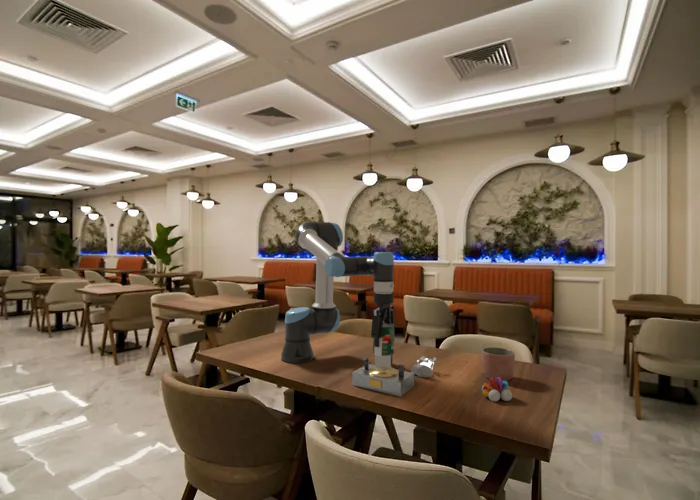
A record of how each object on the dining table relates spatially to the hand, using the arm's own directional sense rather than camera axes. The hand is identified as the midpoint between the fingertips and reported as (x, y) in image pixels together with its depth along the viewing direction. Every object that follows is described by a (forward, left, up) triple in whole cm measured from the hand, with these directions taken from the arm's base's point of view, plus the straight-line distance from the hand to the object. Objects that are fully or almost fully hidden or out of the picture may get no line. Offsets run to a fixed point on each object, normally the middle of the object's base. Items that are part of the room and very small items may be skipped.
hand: (383, 352), depth 141 cm
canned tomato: (0, 0, 0) cm, 0 cm away
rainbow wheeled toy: (+38, +12, -13) cm, 42 cm away
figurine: (+8, +22, -13) cm, 27 cm away
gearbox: (0, 0, -13) cm, 13 cm away
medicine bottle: (-11, +22, -13) cm, 28 cm away
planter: (+35, +33, -13) cm, 50 cm away
